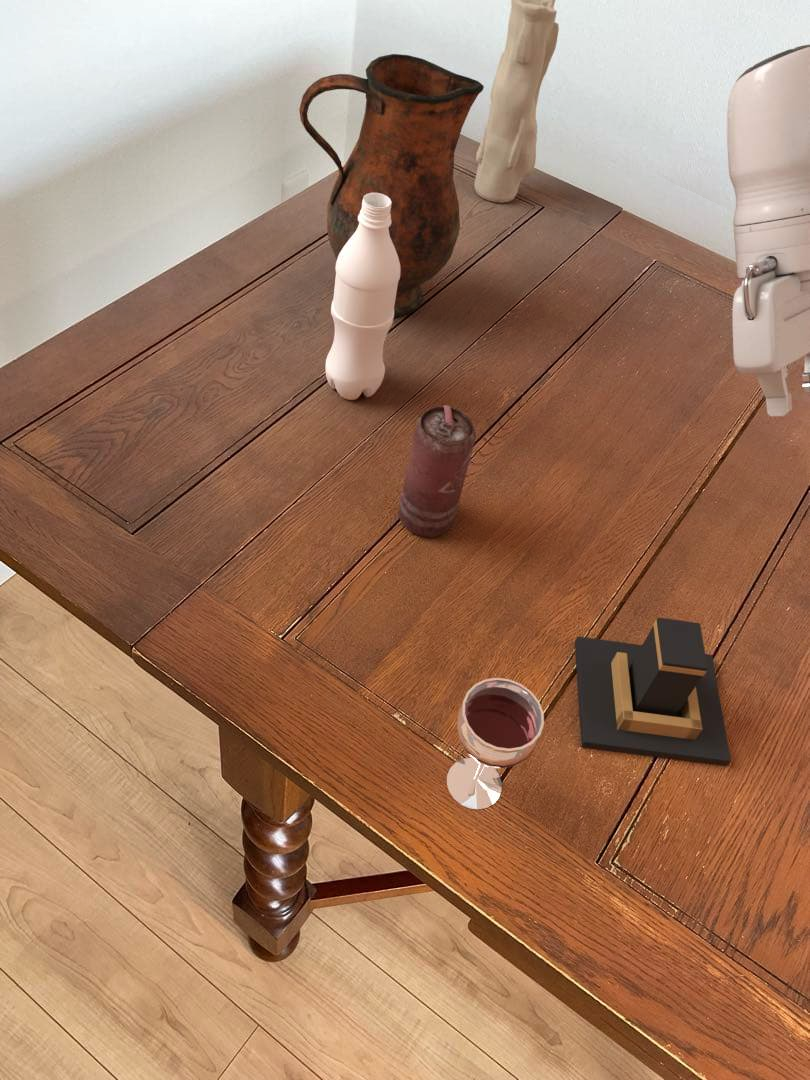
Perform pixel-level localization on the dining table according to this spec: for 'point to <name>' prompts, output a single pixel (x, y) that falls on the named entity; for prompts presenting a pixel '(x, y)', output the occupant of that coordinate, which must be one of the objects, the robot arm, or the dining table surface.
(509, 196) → the vase
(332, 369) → the water bottle
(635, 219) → the dining table surface
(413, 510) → the can
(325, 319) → the dining table surface
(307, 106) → the pitcher
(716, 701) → the base pad
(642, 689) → the upright block
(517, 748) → the wineglass
